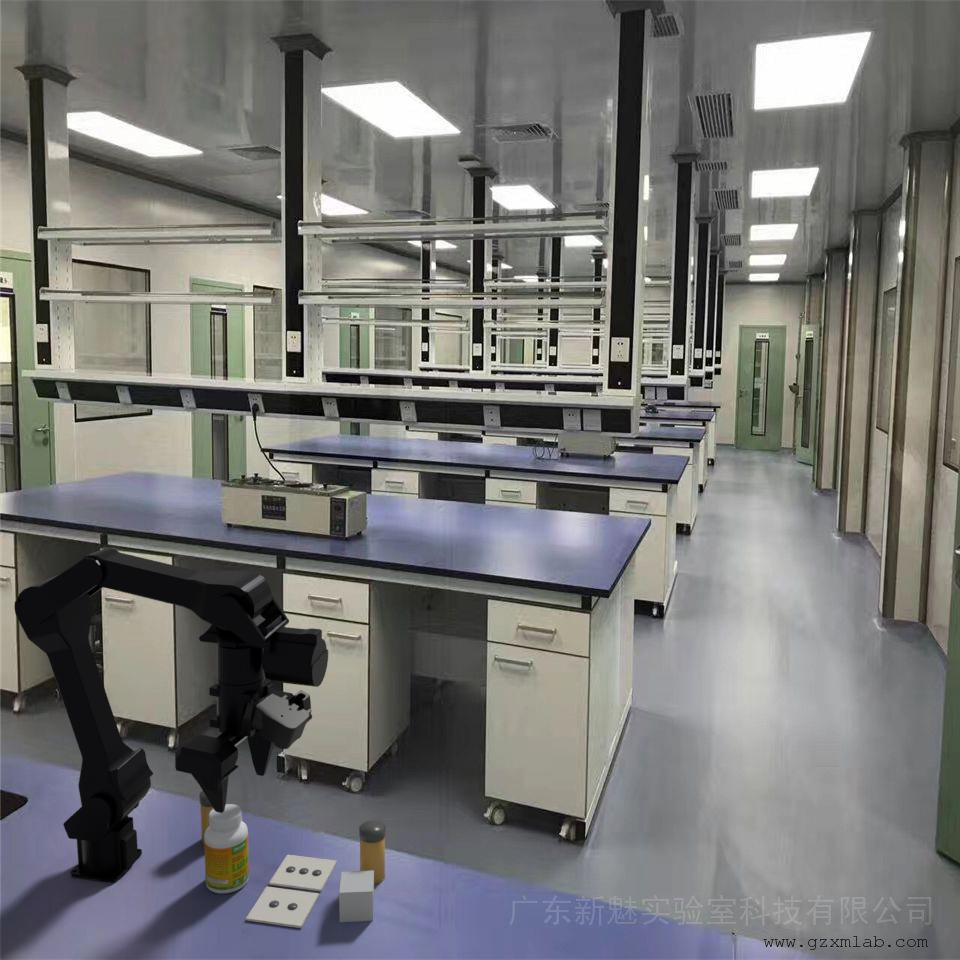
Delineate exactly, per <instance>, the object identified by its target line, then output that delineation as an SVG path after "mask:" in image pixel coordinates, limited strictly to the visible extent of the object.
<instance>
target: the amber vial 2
mask: <svg viewBox="0 0 960 960" xmlns="http://www.w3.org/2000/svg"><path fill="white" fill-rule="evenodd" d="M386 827H387V826H386V824H385V823H384V822H382V821H379V820H373V819H372V820H366V821H365V822H363V823H361V824H360V826H359V827H358V829H359V830H358V832H359V833H358V835H359V871H373V870H374V886H375V885H377V884H380V883H382V882H383V881H384V880H385V877H386V876H385V875H386V835H387V832H386ZM383 879H384V880H383Z"/></svg>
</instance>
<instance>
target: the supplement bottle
mask: <svg viewBox="0 0 960 960" xmlns="http://www.w3.org/2000/svg"><path fill="white" fill-rule="evenodd" d="M209 825H210V826H209V827H208V828H207V829H206V831H205V834H204V845H203V847H204V866H205V867H204V869H205V870H204V871H205V877H204V878H205V885H206V888H207V889H208V890H209V891H210V892H213V893H215V894H219V895H220V894H223V895H224V894H230V893H234V892H236V891H239V890H240V889H242V888H244V887H245V885H246V884H247V883H248V881H249V878H250V853H249V852H250V851H249V850H250V849H249V830H248V826H247V824H246V823H245V822H244V821H243V815H242V809H241V806H239V805H237V804H234V803H233V804H232V803H226V805H225V810H224V812H223V813H219V812H216V811H215V810H214V809H212V810H211V811H210V813H209Z"/></svg>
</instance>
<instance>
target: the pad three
mask: <svg viewBox="0 0 960 960" xmlns="http://www.w3.org/2000/svg"><path fill="white" fill-rule="evenodd" d="M337 864H338V860H335V859H325V858H319V857H310V856H301V855H293V854H287V855H286V856H285V858H284V859H283V860H282V862H281V864H280V865H279V866H278V868H277V870H276V872H275V873H274V874H273V875H272V876H273V877H271V879H270V881H268V882H269V883H268V884H269V886H275V887H276V886H277V887H284V888H292V889H299V890H306V891H307V890H308V891H314V892H322V891H323V889H324V887H325V886H326V884H327V881H329V879H330V877H331V874H333V871H334V870H335V868H336V866H337Z"/></svg>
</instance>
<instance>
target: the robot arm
mask: <svg viewBox="0 0 960 960" xmlns="http://www.w3.org/2000/svg"><path fill="white" fill-rule="evenodd" d="M103 588H105V589H109V590H112V591H116V592H121V593H125V594H129V595H133V596H137V597H142V598H146V599H148V600H153V601H158V602H162V603H165V604H170V605H175V606H178V607H182V608H184V609H187V610H189V611H191V612H192V613H194V614H195V615H196V616H197V617H198V618H199V619H200V620H201V621H203V622H205V623H208V624H210V626H209V628H208V629H207V630H206V631H205V632H203V633H202V634H200V636H199V637H198V640H199V641H200V642H203V643H209V644H210V643H211V644H216V682H215V683H214V684H213V685H211V686H209V689H208V691H209V693H208V694H209V696H212V697H216V714H215V715H212V717H210V718H209V727H210V728H214V729H218V730H219V732H220V734H219V735H218V736H217V737H215V736H210V735H205V734H200V733H199V734H198V735H196V736H195V737H193V738H192V739H191V740H189V741H188V742H187V743H185V744H184V745H183V746H181V747H180V748H179V749H178V750H176V751H175V752H174V764H175V765H174V768H175V770H176V771H177V772H180V773H187V774H189V775H191V776H192V777H193V779H194V780H195V781H196V782H197V784H198V785H199V787H200V788H201V790H202V791H203V792H204V793H205V795H206V797H207V798H208V800H209V802H210V804H211V805H212V807H213V809H214V810H215V811H216V812H219V813H223V812H224V810H225V805H226V804H227V797H228V796H227V795H228V785H229V778H230V777H229V776H230V775H231V774H232V773H233V772H235V771H236V770H238V768H239V765H236V764H237V761H238V758H239V749H238V748H237V746H238V745H240V744H241V743H242V742H244V741H245V740H246V739H247V743H248V748H249V751H250V753H249V754H250V756H251V760H252V765H253V768H254V771H255V773H256V775H257V776H260V777H264V776H265V774H266V772H267V770H268V766H269V763H270V760H271V756H272V753H273V750H274V747H275V748H279V750H287V749H290V747H291V746H292V745H293V744H294V743H295V742H296V741H297V740H299V739H300V738H302V735H303V733H304V730H305V727H306V725H307V724H308V723H309V722H310V721H311V720H312V718H313V714H312V712H313V710H312V702H311V695H310V694H309V693H307V692H306V691H304V690H302V689H301V690H299V691H298V692H296V693H295V694H293V693H292V692H286V691H281V690H276V689H275V688H274V684H273V683H280V684H282V683H283V684H287V685H289V684H291V685H299V686H307V687H314V688H315V687H316V688H318V687H320V686H321V684H322V683H323V681H324V678H325V676H326V673H327V668H328V663H329V649H328V648H327V643H326V641H325V639H323V631H322V629H320V628H296V627H286V626H287V625H288V624H289V623H290V620H289V617H287V615H286V614H285V612H284V611H283V610H282V609H283V608H281V606H280V605H279V603H278V602H277V600H276V599H275V598H274V596H273V595H272V590H271V587H270V585H269V583H268V582H267V581H266V578H265V577H264V576H262V575H261V574H259V573H258V572H254V571H246V570H245V571H243V570H222V571H221V570H220V571H198V570H194V569H190V568H186V567H182V566H178V565H174V564H169V563H166V562H161V561H157V560H152V559H149V558H144V557H141V556H137V555H133V554H132V555H131V554H129V553H123V552H120V550H117V549H115V548H107V547H106V548H102V549H99V550H96V551H94V552H92V553H90V554H87V555H85V556H83V557H82V558H80V560H79V561H78V562H76V563H75V564H74V565H73V566H71V567H69V568H68V569H66V570H64V571H63V572H61V573H60V574H59V573H58V574H57V575H55V576H52V577H50V578H48V579H45V580H42V581H40V582H38V583H35V584H34V585H31V586H28V587H26V588H24V589H23V590H21V592H20V593H19V594H18V597H17V599H16V600H15V601H14V604H13V605H14V606H13V609H14V614H15V616H16V619H17V621H18V622H19V625H20V626H21V628H22V630H23V632H24V634H25V636H26V638H27V639H28V640H29V641H30V642H31V643H32V644H33V645H35V646H36V647H37V648H39V649H40V650H41V651H43V652H44V653H45V654H46V656H47V658H48V661H49V665H50V667H51V670H52V673H53V676H54V679H55V682H56V684H57V688H58V692H59V693H60V697H61V700H62V703H63V705H64V708H65V712H66V715H67V718H68V720H69V724H70V726H71V729H72V732H73V735H74V738H75V741H76V744H77V747H78V749H79V753H80V755H81V764H80V765H81V766H80V772H79V779H78V784H77V785H78V786H77V787H78V792H79V799H80V806H81V807H79V808H78V810H76V811H75V812H74V813H73V814H72V815H70V817H68V818H67V820H65V821H64V822H63V825H62V826H63V828H64V830H65V832H66V836H67V838H69V839H70V840H76V848H77V849H76V850H77V852H76V853H77V862H78V863H77V865H76V866H75V867H74V868H73V869H72V870H71V871H70V877H72V878H79V879H86V880H87V879H88V880H94V881H95V880H96V881H103V882H110V883H114V882H115V883H116V882H117V881H118V880H119V879H120V878H121V877H122V876H123V875H124V873H126V872H127V871H128V870H129V868H130V867H131V866H132V865H133V864H134V863H135V862H136V861H137V860H138V858H139V857H141V856H142V855H143V850H142V849H141V848H138V835H137V833H138V832H137V830H136V829H135V828H134V817H132V816H129V814H130V813H132V811H134V810H135V809H137V808H138V807H139V805H140V802H141V801H142V800H143V799H144V798H145V797H146V796H147V794H148V792H149V790H150V789H151V786H152V785H151V784H152V782H151V781H152V780H151V778H152V776H153V775H154V771H152V770H151V768H150V766H149V764H148V762H147V761H148V760H147V755H146V751H145V749H143V748H142V747H140V748H137V749H135V750H134V749H133V748H132V747H130V746H128V744H126V743H125V742H124V741H123V739H122V737H121V733H120V731H119V728H118V725H117V722H116V720H115V716H114V713H113V711H112V707H111V703H110V701H109V697H108V695H107V692H106V689H105V686H104V683H103V680H102V676H101V673H100V670H99V667H98V665H97V662H96V658H95V656H94V652H93V650H92V646H91V643H90V639H89V636H90V630H91V626H92V625H91V624H92V619H93V618H92V617H93V610H92V605H91V599H90V598H91V597H92V596H93V595H94V594H96V593H98V592H99V591H100V590H102V589H103ZM259 617H262V618H263V619H264V620H263V621H261V622H260V623H259V624H256V622H255V620H256V619H258V618H259Z"/></svg>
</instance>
